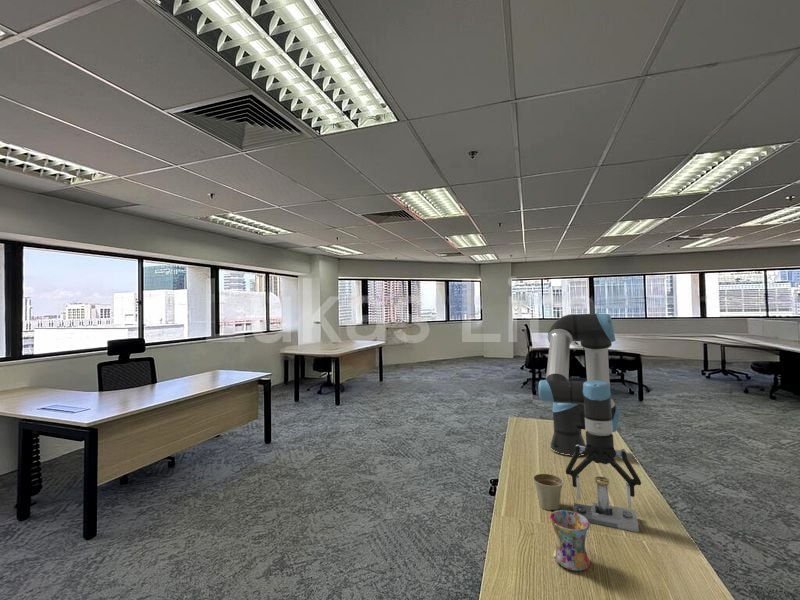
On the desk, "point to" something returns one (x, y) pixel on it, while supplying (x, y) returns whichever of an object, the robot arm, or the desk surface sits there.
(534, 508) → the desk surface
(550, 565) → the desk surface
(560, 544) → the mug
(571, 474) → the robot arm
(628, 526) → the grey slotted base plate
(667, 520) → the desk surface
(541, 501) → the flower pot
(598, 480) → the pin
